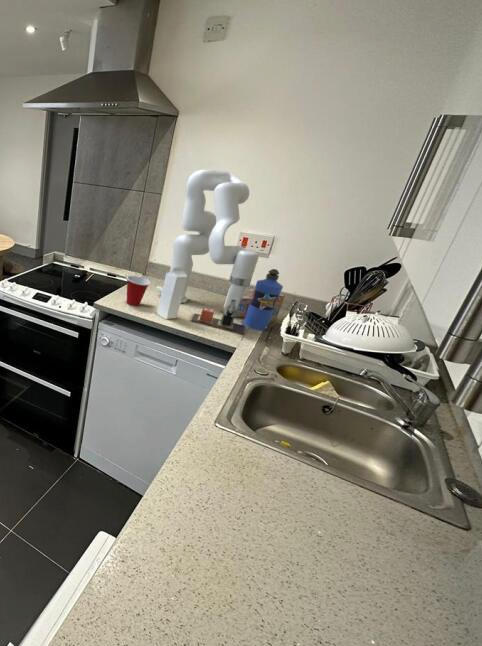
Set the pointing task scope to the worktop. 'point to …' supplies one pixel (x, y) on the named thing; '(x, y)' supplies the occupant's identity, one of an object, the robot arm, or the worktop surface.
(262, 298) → the water bottle
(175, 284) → the milk
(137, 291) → the plastic cup
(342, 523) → the worktop surface
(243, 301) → the stack of blocks
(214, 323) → the word board
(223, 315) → the letter I
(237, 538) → the worktop surface
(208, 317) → the letter H
